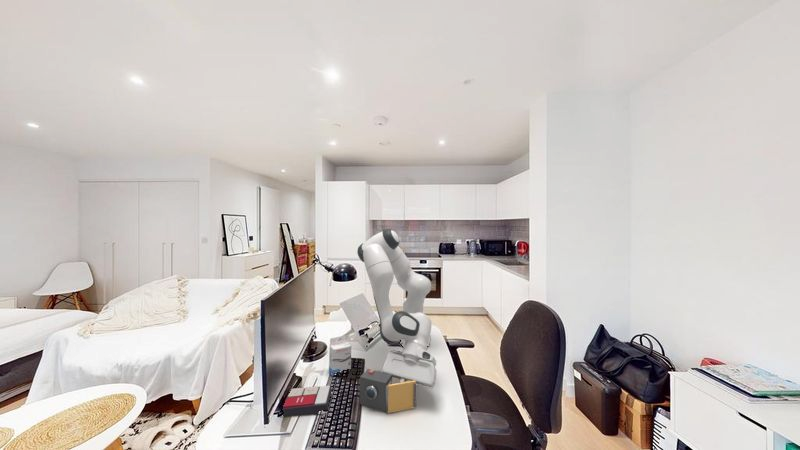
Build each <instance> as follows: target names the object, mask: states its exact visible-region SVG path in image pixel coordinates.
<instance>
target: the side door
mask: <svg viewBox="0 0 800 450" xmlns="http://www.w3.org/2000/svg"><path fill="white" fill-rule="evenodd" d="M416 407H417V384H416V381H415V380H414V381H408V382H407V381H406V382H402V383H401V382H397V383H392V384H390V385H386V404H385V412H384V413H385V414H390V413H394V412H399V411H404V410H410V409H413V408H416Z"/></svg>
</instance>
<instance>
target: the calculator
mask: <svg viewBox="0 0 800 450" xmlns="http://www.w3.org/2000/svg"><path fill="white" fill-rule="evenodd" d="M290 390H291V391H290ZM290 390H289V392H290V393H289V392H288V394H287V396H286V398H285V401H284V402H285V403H283V404H284V405H283V404H282V406H283V409H282V410H283V412H284V414H283V416H284V417H283V418H287V417H302V416H303V417H304V416H309V415H313V416H318V415H317V414H318V412H319V411H321V410H327V408H328V404H329V400H330V395H331V391H333V389H332V385H322V386H319V385H314V386H307V387H298V388H297V387H296V388H294V387H293V388H290ZM330 401H331V400H330Z"/></svg>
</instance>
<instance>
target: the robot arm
mask: <svg viewBox="0 0 800 450" xmlns="http://www.w3.org/2000/svg"><path fill="white" fill-rule="evenodd" d="M399 245H400V239H399V235H398V233H397V232H396V231H395V230H394V229H392V228H386V229H383V230H382V231H380V232H378V233H375V234H374V235H373V236H371V237H370V238H369V239H367V240H366V241H364V243H361V244H360V245H358V247H357V251H356V252H357V256H358V258H359V260H360V261H361V262H363V263H364V266H365V270H366V273H367V277H368V279H369V282H370V285H371V290H372V294H373V299H374V305H375V306H376V307H375V308H376V310H377V311H376V312H377V315H378V318H379V334H380V337H381V339H382V340H383V341H384V342H385V343H387V344H389V345H395V344H399V343H398V342H399V341H400V340H401V342H402V343H403V344H402V346H403V347H402V346H401V347H402V348H403V349H402V351H399V350H396V349H394V350H390V351H388V353H387V356H386V359H385V361H384V364H383V366H382V371H381V372H384V373H388V374H392V379H393V378H394V379H398V380H400V383H402V382H408V381H414V380H415V381H416V385H420V386H424V387H427V388H431V389H433V388H435V386H436V382H437V369H436V366H437V360H436V358H435V356H434V355H433V354H432V353H430V352H428V349H427V348H428V347H427V346H429V347H430V345H429V343H430V344H431V339H430V337H431V332H432V320H431V318H430V317H429V316H428V315H427V314H426V313H424V303H425V299H426V296H427V295H428V294H429V293H430V292H431V289H432V281H431V280H430V279H429V278H428V276H426V275H424V274H420V273H417V272H415V271H414V270H413V268H412V266H411V261H410V260H409V257H408V256H407V255H406V254H405V253H404V251H403V250H402V248H400V246H399ZM394 278H395V279H396V284H397V285H398V286H399V287H400V288H401V289H402V290H404V291H406V292H407V295H406V299H405V301H403V303H402V304H403V305H402V310H399V311H396V312H395V313H394V312H393V309H392V305H391V302H390V297H389V295H390V290H391V286H392V283H393V281H394Z"/></svg>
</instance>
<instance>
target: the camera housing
mask: <svg viewBox="0 0 800 450" xmlns="http://www.w3.org/2000/svg"><path fill="white" fill-rule="evenodd" d="M390 384H393V377H392V374H388V373H384V372H383V371H381V370H375V369H371V368H367V369H366V370H365V371H364V372H363V373H362V374H361V375H360V377H359V405H360V404H361V407H364V408H369V409H372V410H374V411H378V412H381V413H385V404H386V385H390Z"/></svg>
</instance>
